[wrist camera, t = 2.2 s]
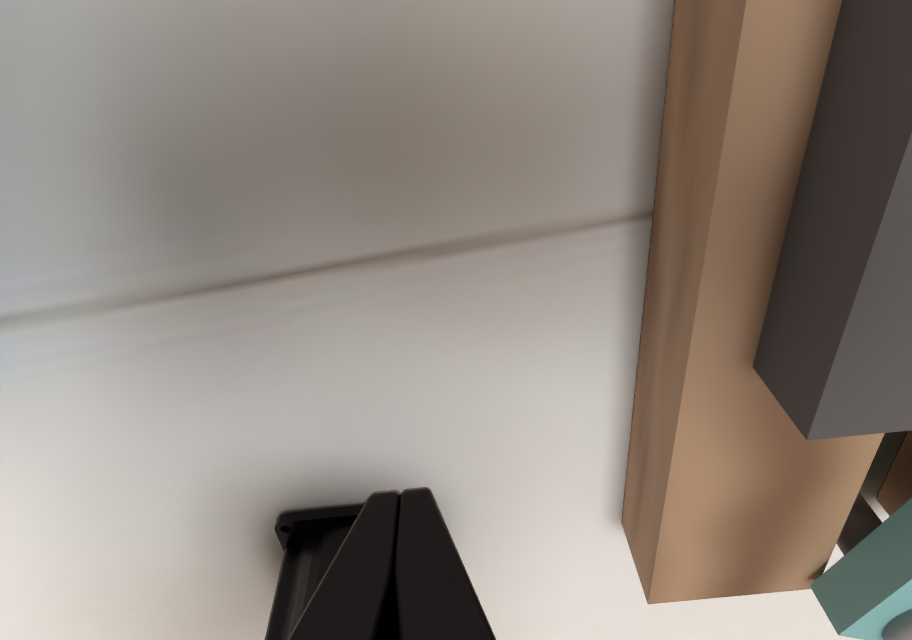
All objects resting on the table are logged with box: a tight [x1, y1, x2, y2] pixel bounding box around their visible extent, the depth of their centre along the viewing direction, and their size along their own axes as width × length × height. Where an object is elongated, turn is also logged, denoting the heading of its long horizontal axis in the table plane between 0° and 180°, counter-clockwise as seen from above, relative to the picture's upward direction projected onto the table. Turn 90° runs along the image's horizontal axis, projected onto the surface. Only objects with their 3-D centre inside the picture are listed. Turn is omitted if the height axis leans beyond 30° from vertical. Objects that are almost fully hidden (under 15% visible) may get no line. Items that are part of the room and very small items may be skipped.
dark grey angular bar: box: [753, 0, 912, 441], centre depth 13 cm, size 3×10×3 cm, turn 5°
